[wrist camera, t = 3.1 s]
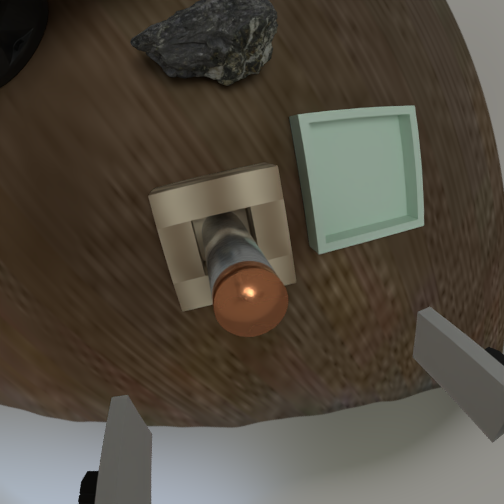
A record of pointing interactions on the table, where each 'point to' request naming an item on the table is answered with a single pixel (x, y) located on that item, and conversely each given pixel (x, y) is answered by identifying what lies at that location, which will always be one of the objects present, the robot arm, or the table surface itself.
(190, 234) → the block
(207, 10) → the rock
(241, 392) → the table surface
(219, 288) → the pin
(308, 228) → the tray
